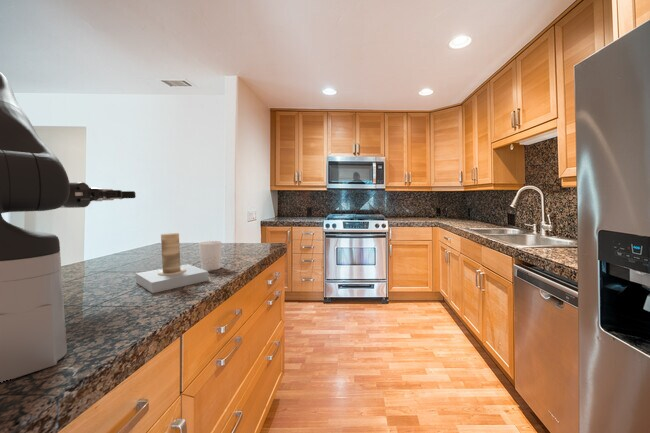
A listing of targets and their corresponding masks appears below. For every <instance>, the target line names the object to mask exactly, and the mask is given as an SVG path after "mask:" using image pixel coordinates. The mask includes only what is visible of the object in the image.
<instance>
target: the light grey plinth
mask: <svg viewBox="0 0 650 433" xmlns="http://www.w3.org/2000/svg"><path fill="white" fill-rule="evenodd" d="M180 269H181V271H179V272H176V273H163V269H162V268H158V269H154V270H147V271H142V272H141V271H140V272H136V273H135V282H136V284H138V285H139V286H141V287H142V288H144V289H145V290H146V291H148V292H150V293H151V294H155V293H160V292H163V291H168V290H173V289H177V288H181V287H186V286H190V285H195V284H199V283H203V282H207V281H209V278H210V277H209V271H206V270H203V269H201V267H197V266H194V265H192V264H188V263H187V264H182V265H181V264H180Z"/></svg>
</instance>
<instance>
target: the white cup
mask: <svg viewBox="0 0 650 433" xmlns="http://www.w3.org/2000/svg"><path fill="white" fill-rule="evenodd" d="M198 252H199V260H200V264H201V265H200V266H201V267H200V269H203V270H206V271H208V272H209V271H217V270H219V269H221V261H222V241H218V240H211V241H210V240H209V241H202V242H199V243H198Z"/></svg>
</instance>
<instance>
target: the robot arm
mask: <svg viewBox="0 0 650 433" xmlns="http://www.w3.org/2000/svg"><path fill="white" fill-rule="evenodd" d="M136 197H137V196H136V192H135V191H132V190H127V191H124V190H123V191H122V190H121V189H116V190H115V189H111V188H110V189H109V188H101V187H98V188H97V187H90V186H89V185H88V184H87V183H86V182H83V181H82V182H81V181H70V179H69V176H68V173H67V172H66V169H65V167H64V166H63V163H62V162H61V161H60V159H59V157H57V156H56V155H55V154H54V153H53V152H52V151H51V150H50V149H49V147H48V146H47V145H46V144H45V143H44V142H43V141H42V140H41V139H40V137H39V135H38V134H37V132H36V130H35V128H34V126H33V124H32V123H31V121H30V119H29V117H28V116H27V115H26V114H25V112H24V111H23V109H22V108H21V107H20V105H19V102H18V101H17V99H16V97H15V94H14V92H13V89H12V86H11V85H10V82H9V81H8V78H6V76H5V75H4V74H3V73H2V72H1V71H0V382H1V383H4V382H3V381H5V382H7V381H6V380H8V381H11V380H14V379H16V378H20V377H23V376H25V375H28V374H32V373H35V372H38V371H41V370H44V369H47V368H50V367H53V366H57V364H58V361H59V360H62V358H63V357H65V355H67V353H68V347H67V346H68V345H67V333H66V331H67V330H66V320H65V319H66V318H65V305H64V304H65V303H64V291H63V275H62V260H61V246H60V245H61V244H60V239H59V236H57V235H56V234H53V233H47V232H44V231H36V230H35V231H34V230H30V229H26V228H23V227H19V226H17V225H14V224H12V223H10V222H8V221H6V220H5V219H4V217H3V216H2V214H5V213H14V212H15V213H16V212H17V213H18V212H19V213H20V212H22V213H23V212H46V211H52V210H57V209H63V208H64V209H67V208H69V209H71V208H73V209H75V208H87V207H88V206H89V205H90V204H91V203H92V202H103V201H114V200H123V199H136ZM10 379H11V380H10Z"/></svg>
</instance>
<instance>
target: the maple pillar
mask: <svg viewBox="0 0 650 433" xmlns="http://www.w3.org/2000/svg"><path fill="white" fill-rule="evenodd" d="M160 243H161V246H160V247H161V264H162V266H161V269H163V273H176V272H179V271H181V269H180V266H181V254H180V253H181V250H180V249H181V248H180V234H179V233H178V232H175V233H171V232H169V233H162V234H160Z"/></svg>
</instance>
